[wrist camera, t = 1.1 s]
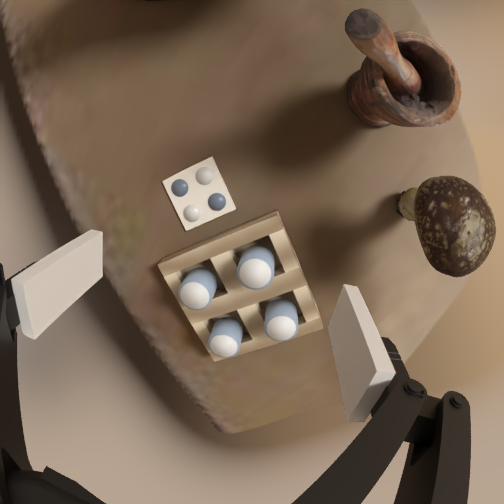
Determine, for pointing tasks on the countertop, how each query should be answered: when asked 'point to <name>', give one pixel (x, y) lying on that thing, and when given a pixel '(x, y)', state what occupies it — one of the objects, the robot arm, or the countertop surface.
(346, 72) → the countertop surface
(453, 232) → the mushroom
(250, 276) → the button
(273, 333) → the button
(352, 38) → the mortar and pestle
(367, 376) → the robot arm
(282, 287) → the wooden compartment tray
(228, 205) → the card
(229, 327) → the button
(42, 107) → the countertop surface
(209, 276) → the button
